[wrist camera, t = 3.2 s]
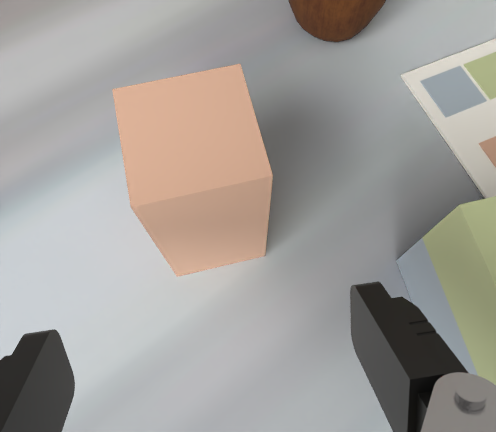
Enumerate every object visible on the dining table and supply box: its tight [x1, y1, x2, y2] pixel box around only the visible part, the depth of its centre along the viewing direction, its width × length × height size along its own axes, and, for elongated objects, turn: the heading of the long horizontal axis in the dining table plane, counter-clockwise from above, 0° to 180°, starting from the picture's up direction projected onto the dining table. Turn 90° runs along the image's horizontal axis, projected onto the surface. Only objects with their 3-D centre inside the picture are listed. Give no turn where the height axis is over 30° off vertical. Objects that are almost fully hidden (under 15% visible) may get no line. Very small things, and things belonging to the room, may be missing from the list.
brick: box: [112, 64, 273, 277], centre depth 21 cm, size 5×5×10 cm
